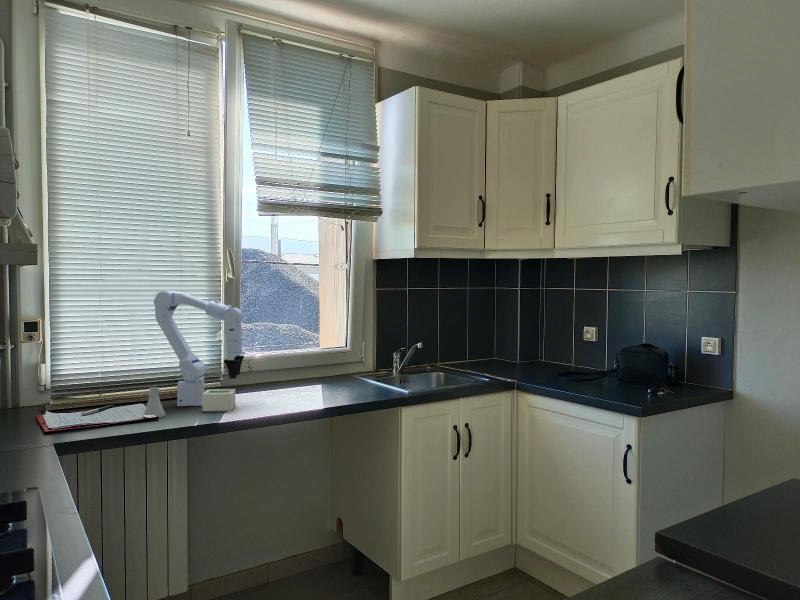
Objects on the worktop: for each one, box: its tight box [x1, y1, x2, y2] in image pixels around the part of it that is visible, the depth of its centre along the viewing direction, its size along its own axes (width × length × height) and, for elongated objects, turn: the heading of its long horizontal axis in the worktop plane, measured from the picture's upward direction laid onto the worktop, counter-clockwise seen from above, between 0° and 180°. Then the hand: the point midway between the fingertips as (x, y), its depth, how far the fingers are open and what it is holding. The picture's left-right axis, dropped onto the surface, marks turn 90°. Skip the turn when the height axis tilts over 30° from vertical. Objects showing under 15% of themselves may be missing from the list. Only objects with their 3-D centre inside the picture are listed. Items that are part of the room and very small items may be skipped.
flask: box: [143, 386, 166, 419], centre depth 205 cm, size 7×7×10 cm
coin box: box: [201, 388, 236, 413], centre depth 216 cm, size 10×8×6 cm
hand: (234, 376), depth 224 cm, fingers open, 7 cm apart
